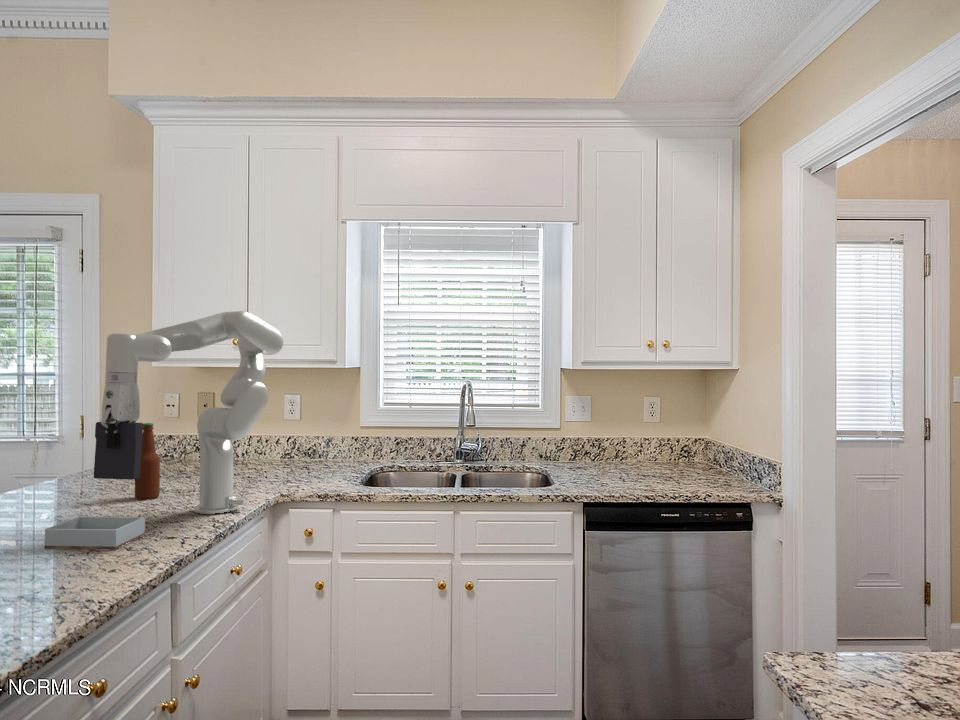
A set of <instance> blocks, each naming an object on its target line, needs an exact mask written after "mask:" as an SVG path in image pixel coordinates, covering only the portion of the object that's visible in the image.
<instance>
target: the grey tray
mask: <svg viewBox="0 0 960 720" xmlns="http://www.w3.org/2000/svg"><path fill="white" fill-rule="evenodd" d="M143 533H145V534H146V517H145V516H138V517H137V516H87V515H85V516H82V515H81V516H77V517H74V518H71V519H68V520H66V521H63V522H60V523H57V524H55V525H53V526H49V527H46V528H44V547H45V546H102V547H116V546H118V545H121V544H123V543H125V542H127V541H129V540H131V539H133V538H135V537H137V536H139V535H141V534H143Z"/></svg>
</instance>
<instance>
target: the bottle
mask: <svg viewBox="0 0 960 720" xmlns="http://www.w3.org/2000/svg"><path fill="white" fill-rule="evenodd" d="M160 460H161V459H160V456H159V455H158V454H157V452H156V441H155V435H154V423H153V422H144V423H143V434H142V449H141V465H140V477H139V478H138V479H134V498H135V499H136V500H137V499H138V501H148V500H147V499H151V500H155V499H158V497H160V486H161V485H160V481H161V480H160V479H161V478H160V477H161V475H160V473H161V472H160V471H161V469H160V468H161V463H160V462H161V461H160ZM154 498H155V499H154Z"/></svg>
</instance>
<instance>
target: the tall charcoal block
mask: <svg viewBox="0 0 960 720" xmlns="http://www.w3.org/2000/svg"><path fill="white" fill-rule="evenodd" d="M143 424H144V423H143V422H135V423H134V422H120V425H119V431H118V433H119V434H120V445H119V448H118V449H108V448H107V447H106V446H107V433H106V429H105V428H104V426H103V425H102V424H101V421H96V423H95V430H94V437H95V448H94V449H95V451H94V463H93V465H94V466H93V478H94V479H99V480H102V479H103V480H130V481H132V480H135V479H138V478H139V477H140V465H141V449H142V434H143ZM113 426H114V427H115V424H113Z"/></svg>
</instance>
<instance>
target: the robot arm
mask: <svg viewBox="0 0 960 720" xmlns="http://www.w3.org/2000/svg"><path fill="white" fill-rule="evenodd" d="M231 339H237V348H238V351H239V355H240V362H239V364H238V367H237V369H236V371H235V372H234V373H233V375H232V376H231V377H230V379H229V381H228V382H227V383H226V384H225V386H224V387H223V388H222V391H221V393H220V402H221V404H222V405H223V406H224V407H211V408H210V407H209V408H207V409H205V410H204V411H202V412H201V413H200V415H199V416H198V418H197V422H196V424H197V425H196V428H197V434H198V435H197V436H198V440H199V452H200V454H199V455H200V456H199V504H198V505H194V507H193V512H194V513H196V514H199V513H200V515H216V514H215V513H220V514H225V513H224V512H227V513H231V512H233V511H237V510H238V508H239V506H245V505H246V502H247V501H246V498H245V497H237V493H236V492H235V493H234V456H235V455H234V448H233V447H234V446H233V443H232V441H239V440H242V439H244V438H245V437H246V436H247V435H248V434H249V433H250V431H251V430H252V429H253V427H254V426H255V424H256V422H258V420H259V419H260V416H261V415H262V413H263V411H265V409H266V407H267V404H268V401H269V391H268V388H267V386H266V385H265V384H264V383H263V382H262V381H263V380H264V378H265V375H266V370H267V369H266V363H265V362H266V361H265V358H264V356H272V355H276V354H278V353H279V352H280V351H281V350H282V349H283V346H284V338H283V335H282V333H281V332H280V331H279V330H278V329H277V328H275V327H273V326H272V325H270V324H268V323H267V322H265V321H264V320H262V319H261V318H259V317H257V316H256V315H254V314H252V313H250V312H247V311H244V310H243V311H242V310H239V311H223V312H220V313H216V314H212V315H209V316H206V317H205V316H204V317H201V318H197V319H195V320H194V319H193V320H189V321H186V322H181V323H178V324H174V325H169V326H166V327H162V328H158V329H153V330H149V331H145V332H142V333H139V334H132V333H111V334H108V336H107V337H106V350H105V351H106V352H105V353H106V355H105V375H104V376H105V377H104V379H105V380H104V388H103V389H104V390H103V396H102V403H101V404H102V405H101V420H100V422H101V424H102V425H103V426H104V428H105V429H106V433H107V446H106V447H107V448H108V449H118V448H119V445H120V434H119V433H118V431H119V425H120V422H134V423H137V421H138V420H139V419H140V416H141V413H140V412H141V407H140V403H141V401H140V390H139V385H138V374H139V373H138V371H139V369H138V368H139V362H148V363H152V362H153V363H155V362H162V361H164V360H166V359H167V358H169V356H170V355H171V354H172V353H173V352H180V351H181V352H182V351H193V350H199V349H202V348H206V347H209V346H211V345H215V344H218V343H222V342H225V341H227V340H231ZM113 424H115V427H114V426H113ZM230 511H231V512H230Z"/></svg>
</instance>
